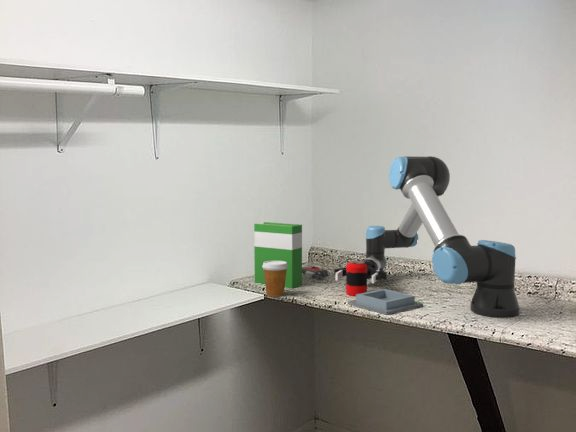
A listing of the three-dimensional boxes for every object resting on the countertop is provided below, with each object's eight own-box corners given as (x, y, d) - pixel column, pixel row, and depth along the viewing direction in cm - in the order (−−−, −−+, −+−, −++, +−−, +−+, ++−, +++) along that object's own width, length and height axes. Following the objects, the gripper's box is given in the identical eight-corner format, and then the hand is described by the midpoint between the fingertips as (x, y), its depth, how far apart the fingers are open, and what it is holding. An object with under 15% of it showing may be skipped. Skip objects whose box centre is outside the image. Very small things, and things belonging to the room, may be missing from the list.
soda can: (342, 295, 223) (343, 262, 222) (350, 291, 230) (351, 259, 229) (362, 297, 220) (362, 264, 219) (369, 293, 226) (370, 261, 225)
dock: (422, 306, 207) (423, 296, 206) (386, 315, 196) (386, 304, 195) (383, 296, 221) (383, 287, 221) (347, 304, 210) (347, 294, 210)
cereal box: (254, 283, 244) (254, 223, 242) (265, 280, 250) (264, 222, 248) (292, 288, 235) (292, 226, 232) (301, 284, 241) (302, 224, 239)
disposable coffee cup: (277, 290, 231) (277, 259, 230) (293, 295, 223) (293, 263, 222) (257, 294, 225) (256, 262, 224) (272, 299, 218) (272, 265, 216)
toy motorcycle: (295, 274, 265) (321, 282, 248) (295, 264, 264) (321, 271, 247) (312, 272, 269) (339, 279, 252) (312, 262, 269) (339, 269, 252)
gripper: (400, 279, 237) (388, 291, 217) (338, 275, 246) (321, 285, 227) (400, 260, 236) (388, 270, 217) (338, 256, 245) (321, 265, 226)
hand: (354, 278), depth 222 cm, fingers open, 13 cm apart
